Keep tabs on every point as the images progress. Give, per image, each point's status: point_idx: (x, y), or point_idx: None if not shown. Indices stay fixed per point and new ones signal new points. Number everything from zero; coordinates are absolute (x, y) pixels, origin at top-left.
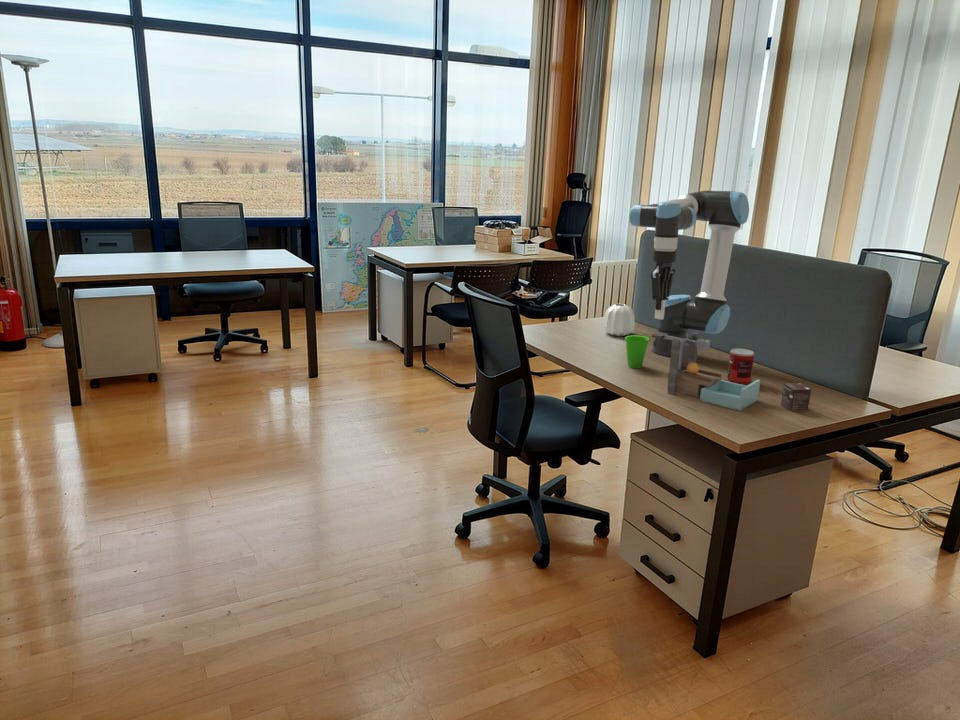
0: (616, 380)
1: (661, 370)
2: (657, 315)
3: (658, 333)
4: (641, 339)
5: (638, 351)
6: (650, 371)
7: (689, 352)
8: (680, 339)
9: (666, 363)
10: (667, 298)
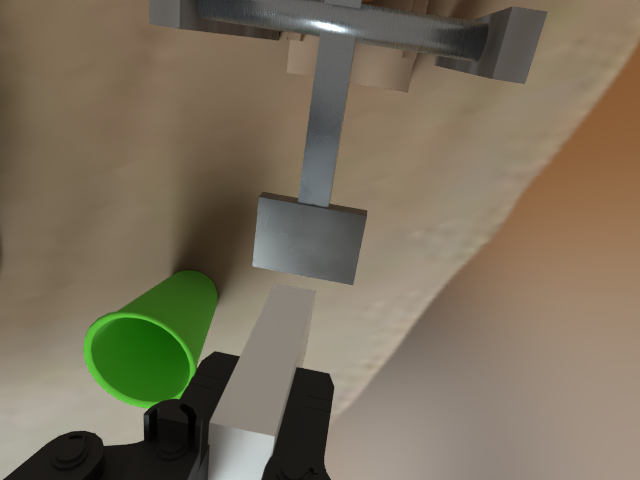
0: (399, 293)
1: (173, 193)
2: (303, 349)
3: (294, 256)
4: (100, 346)
5: (193, 313)
6: (214, 225)
7: (233, 30)
8: (351, 62)
9: (76, 206)
10: (183, 424)
